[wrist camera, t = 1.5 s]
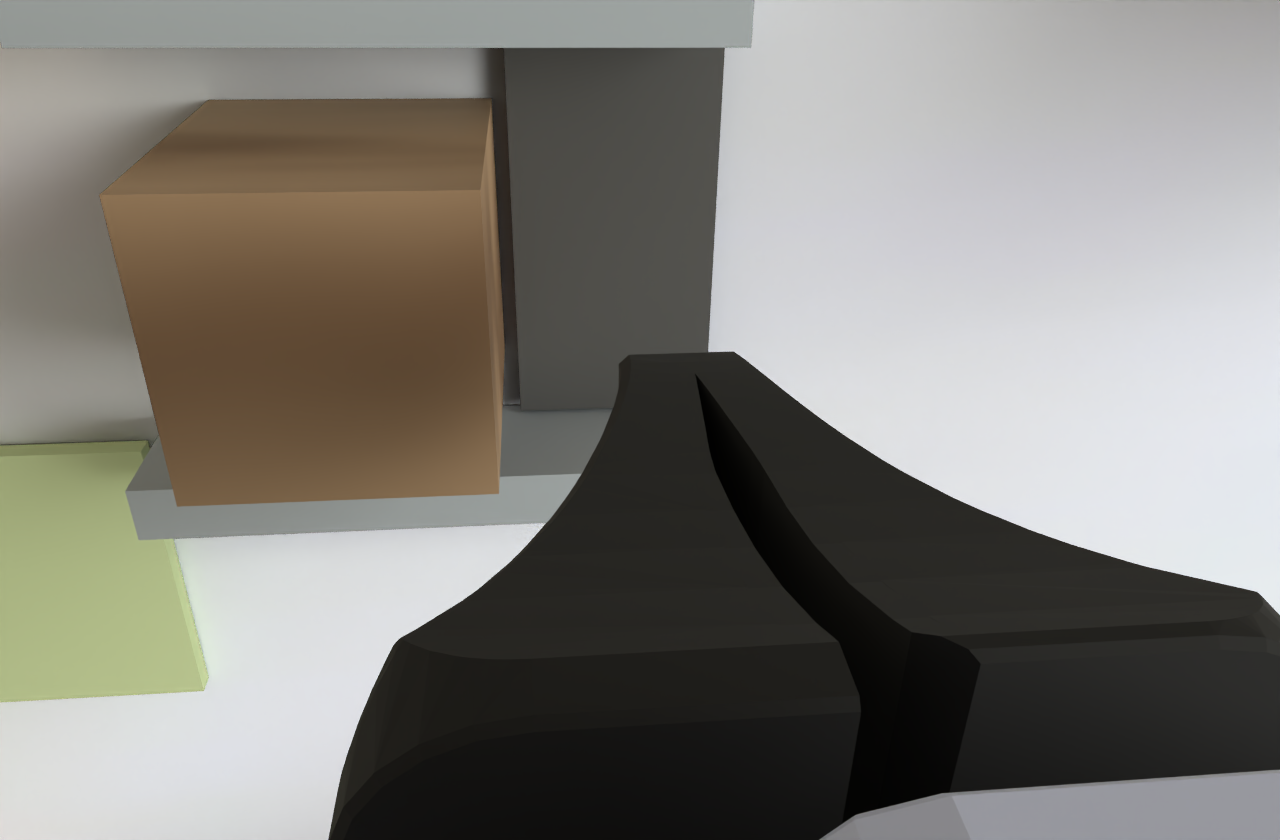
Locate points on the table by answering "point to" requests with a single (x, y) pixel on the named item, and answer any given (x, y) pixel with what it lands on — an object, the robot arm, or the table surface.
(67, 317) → the table surface
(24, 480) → the coaster
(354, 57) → the table surface
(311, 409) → the block
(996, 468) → the table surface
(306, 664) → the table surface
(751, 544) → the robot arm
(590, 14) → the goalpost shaped bracket
